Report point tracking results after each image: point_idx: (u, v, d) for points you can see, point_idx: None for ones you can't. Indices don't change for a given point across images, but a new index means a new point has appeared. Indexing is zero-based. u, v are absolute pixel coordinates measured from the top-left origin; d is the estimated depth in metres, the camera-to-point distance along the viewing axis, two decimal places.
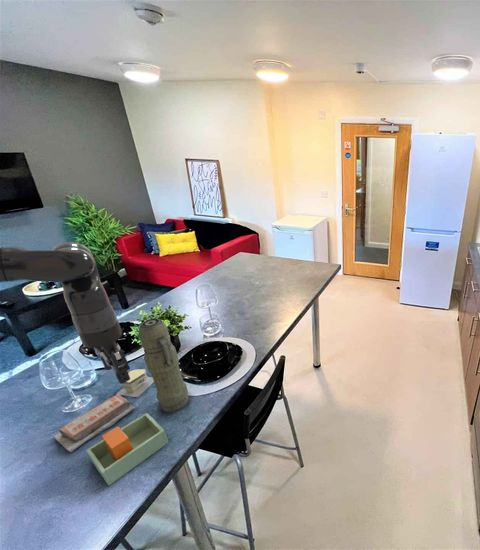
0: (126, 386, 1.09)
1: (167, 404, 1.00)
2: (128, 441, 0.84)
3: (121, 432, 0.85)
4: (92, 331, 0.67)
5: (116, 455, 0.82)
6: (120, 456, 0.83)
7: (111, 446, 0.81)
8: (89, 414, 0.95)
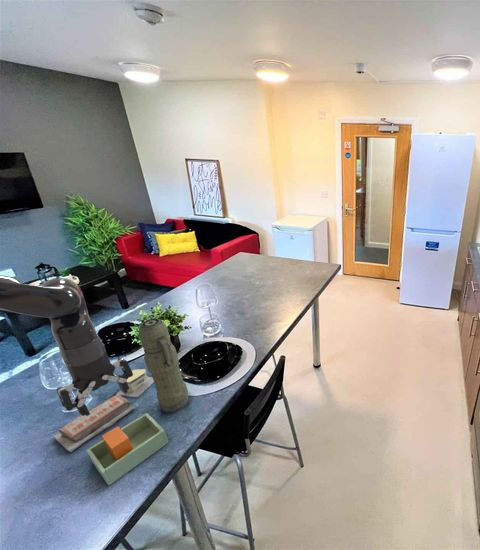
0: None
1: (167, 404, 1.00)
2: (128, 441, 0.84)
3: (121, 432, 0.85)
4: None
5: (116, 455, 0.82)
6: (120, 456, 0.83)
7: (111, 446, 0.81)
8: None
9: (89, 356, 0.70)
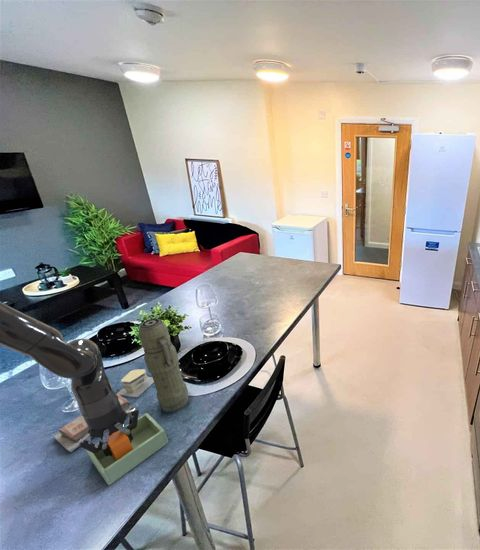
0: (126, 386, 1.09)
1: (168, 404, 1.00)
2: (128, 441, 0.84)
3: (121, 432, 0.85)
4: None
5: (116, 455, 0.82)
6: (120, 456, 0.83)
7: (111, 446, 0.81)
8: None
9: (103, 409, 0.76)
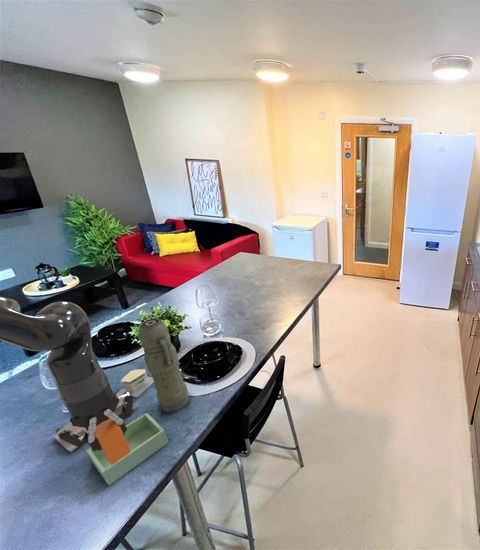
0: (126, 386, 1.09)
1: (168, 404, 1.00)
2: (120, 432, 0.68)
3: (112, 421, 0.69)
4: None
5: (106, 449, 0.67)
6: (111, 451, 0.68)
7: (99, 438, 0.66)
8: None
9: (88, 391, 0.61)
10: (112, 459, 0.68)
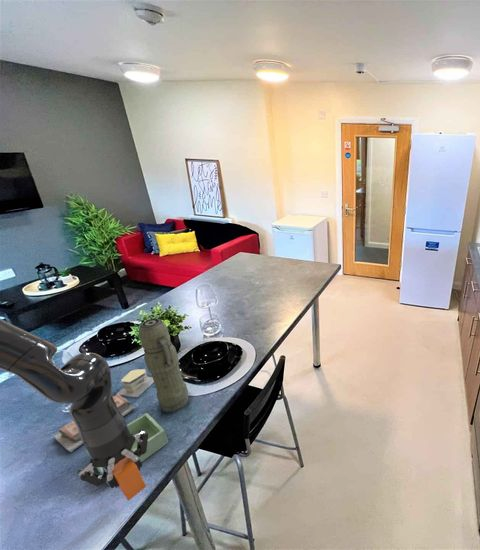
0: (126, 386, 1.09)
1: (168, 404, 1.00)
2: (137, 470, 0.72)
3: (128, 459, 0.73)
4: None
5: (123, 487, 0.70)
6: (127, 487, 0.71)
7: (117, 477, 0.69)
8: None
9: (108, 435, 0.64)
10: (128, 495, 0.72)
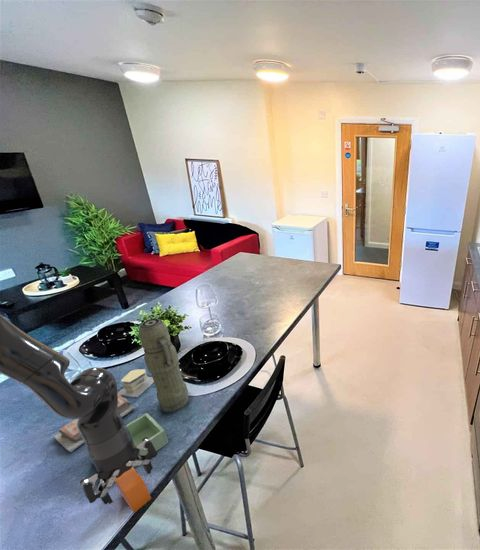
0: (126, 386, 1.09)
1: (168, 404, 1.00)
2: (142, 483, 0.74)
3: (134, 472, 0.75)
4: None
5: (129, 499, 0.72)
6: (134, 500, 0.73)
7: (124, 490, 0.72)
8: None
9: (114, 448, 0.66)
10: (134, 507, 0.74)
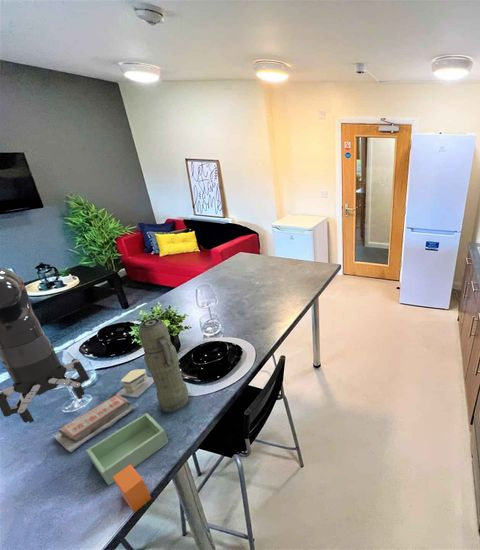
0: (126, 386, 1.09)
1: (168, 404, 1.00)
2: (142, 483, 0.74)
3: (134, 472, 0.75)
4: None
5: (129, 499, 0.72)
6: (134, 500, 0.73)
7: (124, 490, 0.72)
8: (89, 414, 0.95)
9: (29, 357, 0.62)
10: (134, 507, 0.74)
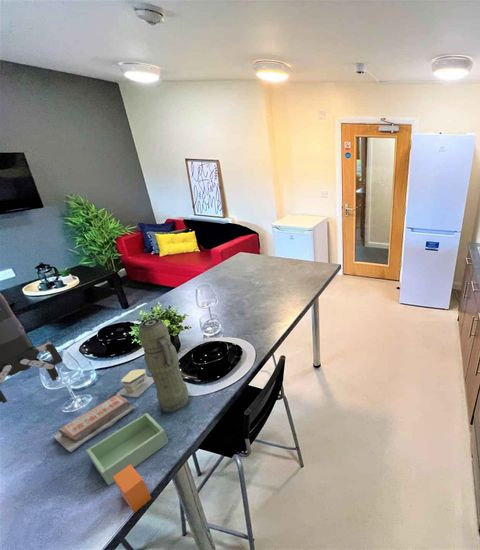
0: (126, 386, 1.09)
1: (168, 404, 1.00)
2: (142, 483, 0.74)
3: (134, 472, 0.75)
4: None
5: (129, 499, 0.72)
6: (134, 500, 0.73)
7: (124, 490, 0.72)
8: (89, 414, 0.95)
9: None
10: (134, 507, 0.74)
